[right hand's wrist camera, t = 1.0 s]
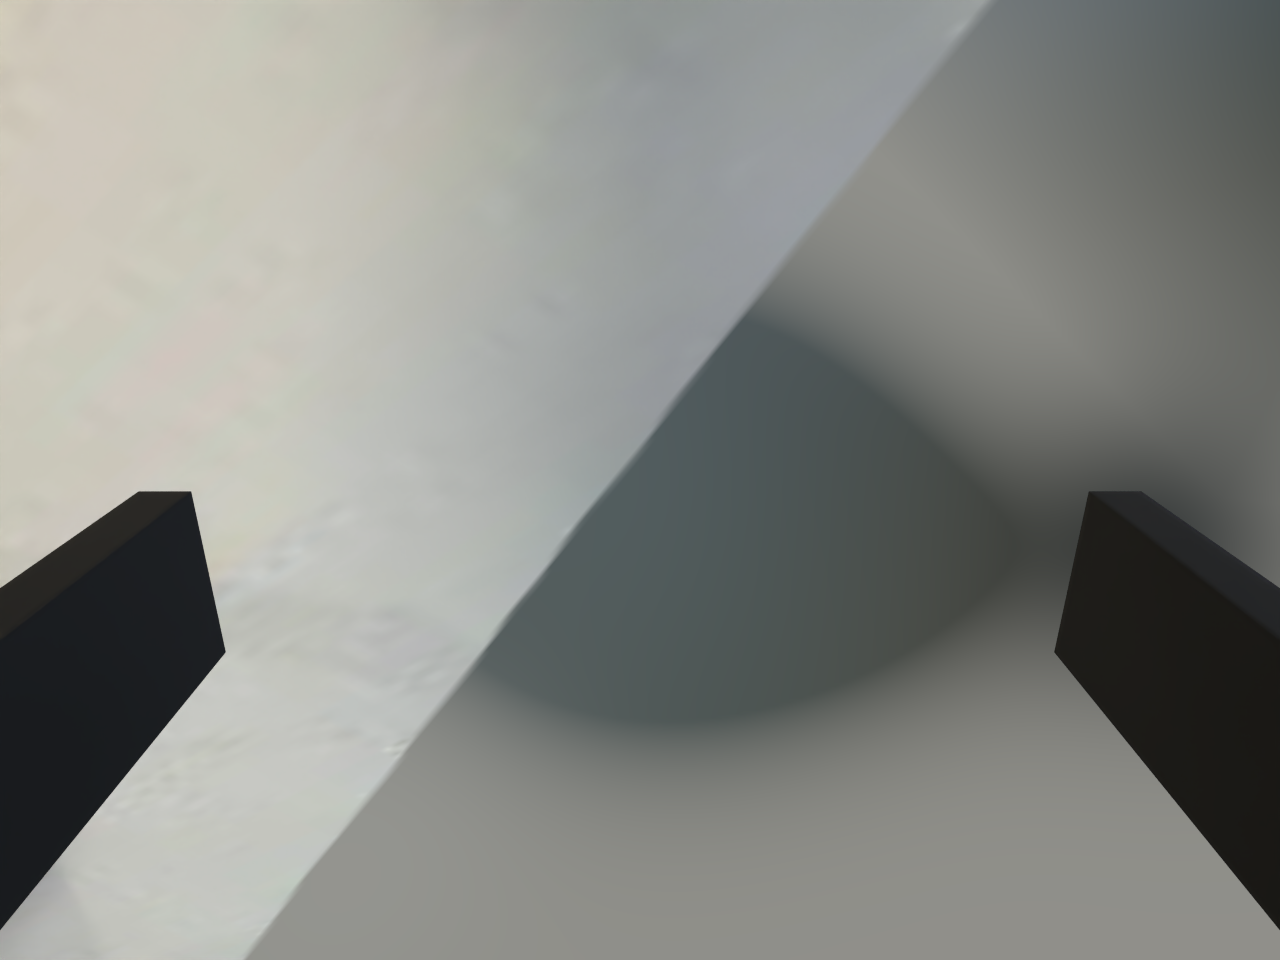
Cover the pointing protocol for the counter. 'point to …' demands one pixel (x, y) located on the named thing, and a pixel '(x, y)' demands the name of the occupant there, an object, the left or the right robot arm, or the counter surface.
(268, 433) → the counter surface
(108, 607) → the right robot arm
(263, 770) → the counter surface
